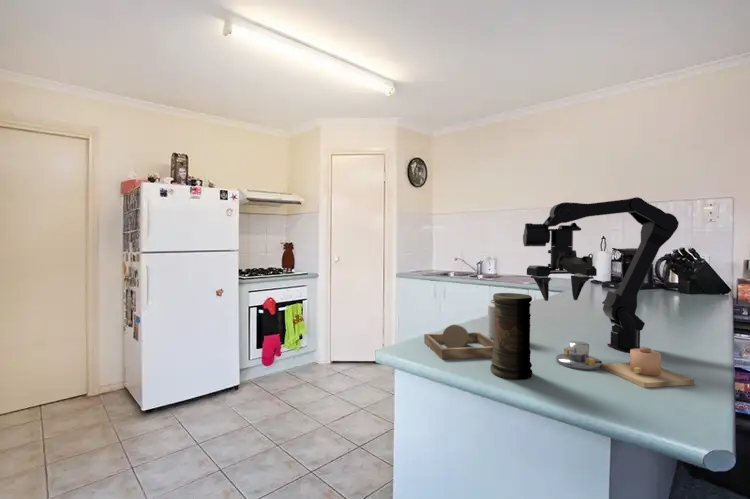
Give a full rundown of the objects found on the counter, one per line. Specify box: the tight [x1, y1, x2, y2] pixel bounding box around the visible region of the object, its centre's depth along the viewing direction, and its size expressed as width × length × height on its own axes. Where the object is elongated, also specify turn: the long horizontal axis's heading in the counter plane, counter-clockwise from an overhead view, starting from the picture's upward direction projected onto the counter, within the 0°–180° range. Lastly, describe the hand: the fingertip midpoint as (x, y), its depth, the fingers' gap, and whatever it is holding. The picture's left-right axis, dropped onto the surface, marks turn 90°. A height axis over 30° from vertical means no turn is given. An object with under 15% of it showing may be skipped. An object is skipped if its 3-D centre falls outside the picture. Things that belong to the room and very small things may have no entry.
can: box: [487, 298, 495, 341], centre depth 118 cm, size 8×8×12 cm
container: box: [490, 292, 533, 381], centre depth 87 cm, size 9×9×18 cm
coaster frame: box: [423, 331, 494, 360], centre depth 107 cm, size 17×16×2 cm
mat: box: [601, 362, 695, 389], centre depth 86 cm, size 12×12×1 cm
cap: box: [629, 346, 662, 376], centre depth 86 cm, size 6×8×5 cm
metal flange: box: [555, 340, 603, 371], centre depth 94 cm, size 10×10×5 cm
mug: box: [442, 323, 469, 348], centre depth 108 cm, size 8×10×10 cm
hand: (560, 300), depth 111 cm, fingers open, 9 cm apart
